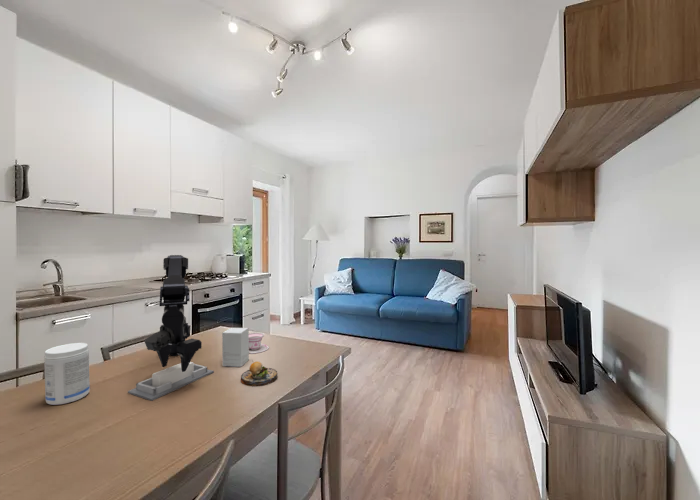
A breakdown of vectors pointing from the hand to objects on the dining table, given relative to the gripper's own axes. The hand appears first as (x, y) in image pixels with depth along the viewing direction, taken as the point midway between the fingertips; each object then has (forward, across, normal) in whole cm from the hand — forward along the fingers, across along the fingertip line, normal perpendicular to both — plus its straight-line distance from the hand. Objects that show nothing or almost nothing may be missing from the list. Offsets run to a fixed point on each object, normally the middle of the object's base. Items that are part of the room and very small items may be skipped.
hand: (174, 368), depth 101 cm
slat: (+4, 0, 0) cm, 4 cm away
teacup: (+5, +1, +37) cm, 37 cm away
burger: (+5, +23, +14) cm, 27 cm away
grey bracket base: (+4, 0, 0) cm, 4 cm away
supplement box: (+5, +6, +21) cm, 22 cm away
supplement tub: (+4, -18, -20) cm, 27 cm away
